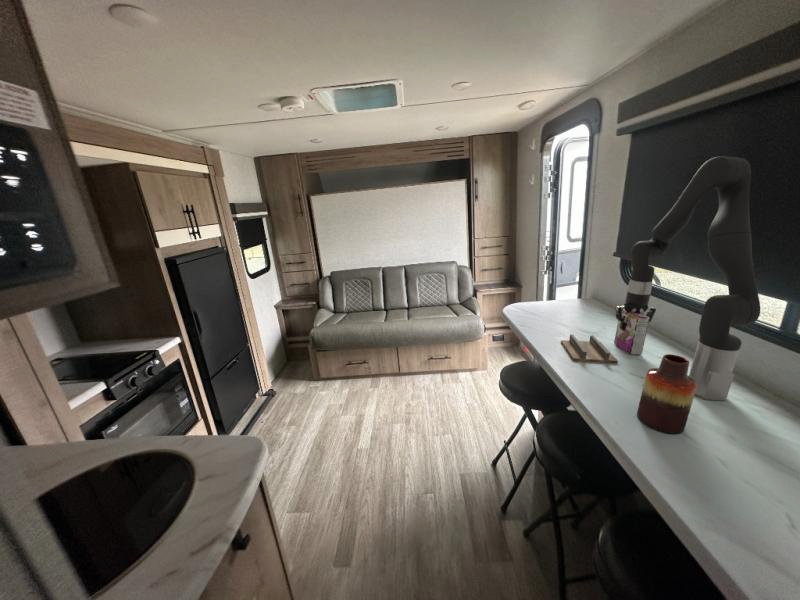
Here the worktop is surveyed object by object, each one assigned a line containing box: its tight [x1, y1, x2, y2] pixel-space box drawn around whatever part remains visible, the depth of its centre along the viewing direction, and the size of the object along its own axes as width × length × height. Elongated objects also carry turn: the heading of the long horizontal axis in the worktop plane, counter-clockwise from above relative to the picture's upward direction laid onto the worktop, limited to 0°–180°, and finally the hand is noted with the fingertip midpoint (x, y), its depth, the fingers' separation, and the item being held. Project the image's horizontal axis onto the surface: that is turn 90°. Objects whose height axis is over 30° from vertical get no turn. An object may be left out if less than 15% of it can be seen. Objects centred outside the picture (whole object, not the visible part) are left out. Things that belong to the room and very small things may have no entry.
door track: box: [560, 333, 619, 365], centre depth 132 cm, size 16×17×4 cm
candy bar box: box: [613, 309, 650, 356], centre depth 132 cm, size 11×5×16 cm, turn 179°
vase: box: [636, 353, 697, 435], centre depth 89 cm, size 11×11×20 cm
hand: (630, 330), depth 132 cm, fingers closed on candy bar box, 5 cm apart
